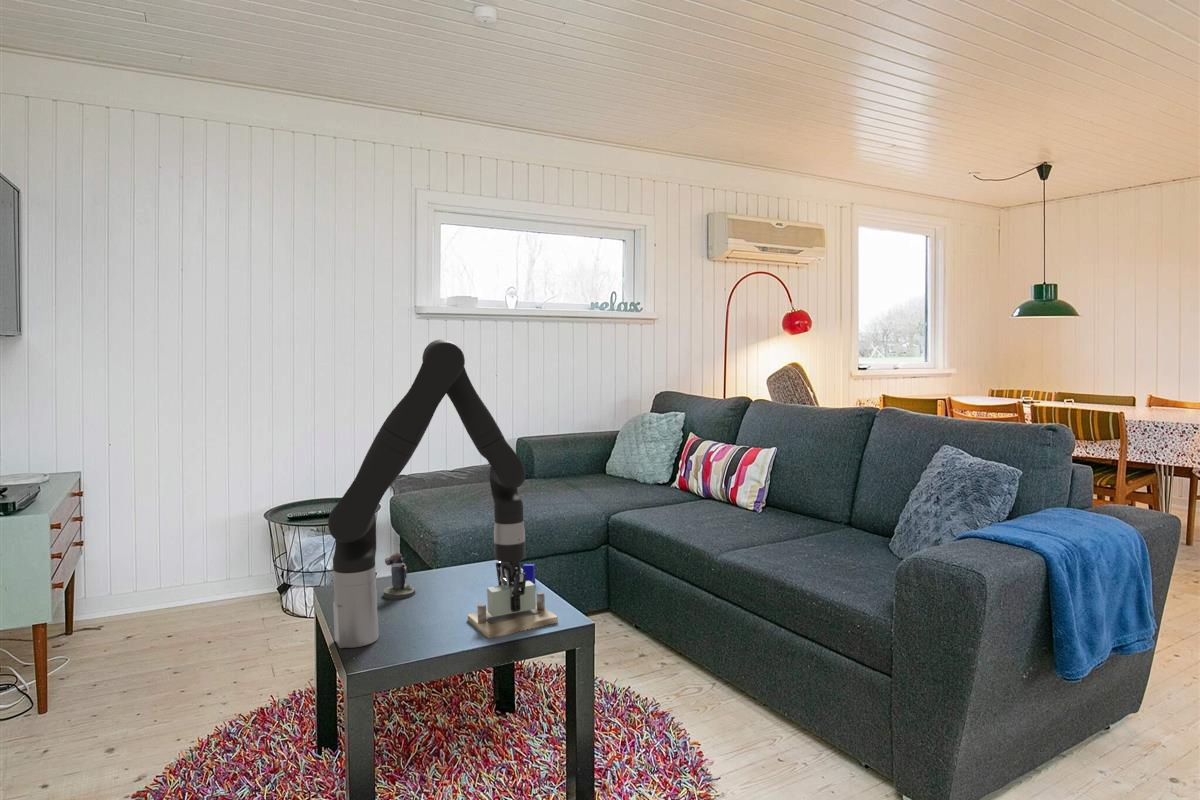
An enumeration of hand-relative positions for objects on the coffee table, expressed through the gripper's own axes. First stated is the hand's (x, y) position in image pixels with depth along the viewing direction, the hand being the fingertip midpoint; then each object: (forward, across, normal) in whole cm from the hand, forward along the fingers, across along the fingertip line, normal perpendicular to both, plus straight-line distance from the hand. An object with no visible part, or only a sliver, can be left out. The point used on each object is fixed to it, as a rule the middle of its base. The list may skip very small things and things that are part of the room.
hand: (511, 607), depth 177 cm
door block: (+1, 0, 0) cm, 1 cm away
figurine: (+4, +37, +18) cm, 41 cm away
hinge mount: (+3, 0, 0) cm, 3 cm away
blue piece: (+4, +20, -12) cm, 24 cm away
